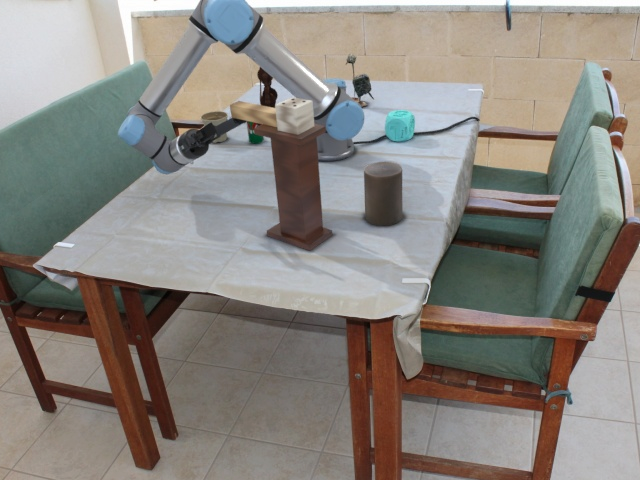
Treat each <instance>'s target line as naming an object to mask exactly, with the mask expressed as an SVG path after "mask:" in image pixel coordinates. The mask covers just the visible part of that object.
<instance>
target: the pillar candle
mask: <svg viewBox="0 0 640 480" xmlns="http://www.w3.org/2000/svg"><path fill="white" fill-rule="evenodd" d="M363 185H364V186H363V187H364V189H363V190H364V217H365V220H366V221H367V222H368V223H370V225H373V226H379V227H380V226H382V227H384V226H394V225H396V224H398V223H399V222H401V221H402V220H403V215H404V214H403V167H402V165H401V164H399V163H397V162H394V161H376V162H372V163H369V164H366V165H365V166H364V168H363Z"/></svg>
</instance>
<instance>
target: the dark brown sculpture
mask: <svg viewBox="0 0 640 480" xmlns="http://www.w3.org/2000/svg"><path fill="white" fill-rule="evenodd" d="M256 75H257V79H258V81H259V103H260V104H259V105H262V106H267V107H272V108H275V105H276V104H277V99H278V95H279V94H278V92H277V90H276V89H275V88H273V87H272V84H273V82H272V81H273V79H274V78H273V77H272V76H270V75H269V74H268V73H267V72H266V71H265V70H263V69H262V68H261V67H260V66H259V69H258V70H257V74H256ZM262 85H263V91H262Z"/></svg>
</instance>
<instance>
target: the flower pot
mask: <svg viewBox="0 0 640 480" xmlns="http://www.w3.org/2000/svg"><path fill="white" fill-rule="evenodd" d="M228 117H229V113H228V112H226V111H223V110H222V111H221V110H215V111H208V112H205V113H203V114H202V115H200V117H199V119H200V120H201V122H202V124H203V127H204V126H206V125H207V124H209V123H211V122H212V124H213V125H216V126H217V125H219V124H221V123H223V122H225V121H227V120H228ZM227 134H228V132H227V133H225V134H223V135H221V137H220V138H218V139H216V140H214V141H213V142H212V143H213V144H217V143H223V142H225V141H226V140H227V139H228V135H227ZM215 137H217V135H215ZM215 137H214V138H215Z"/></svg>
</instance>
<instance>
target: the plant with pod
mask: <svg viewBox="0 0 640 480" xmlns="http://www.w3.org/2000/svg"><path fill="white" fill-rule="evenodd" d="M345 61H346V62H345V65H346V66H347V65H348V64H351V67H352V81H351V82H352V85H353V92H354V94H353V95H354V96H353V97H351V96H350V97H351V98H352V99H353V100H354V101H355V102H357V103H358V104H359V105H360V106H361V108H362V107H367V106H368V104H367V101H365V100H361V99H362V98H361V97H363V96H364V95H369V97H370V98H371V99H372V100H375V97H374V96H373V95H372V94H371V91H372V84H371V79H370V77H369V76H370V75H368V74H367V73H361V74H357V75H356V76H355V65H354V64H356V61H357V55H356V54H353V53H352V52H351V53H348V55H347V58H346V60H345ZM356 96H357V97H356Z"/></svg>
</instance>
